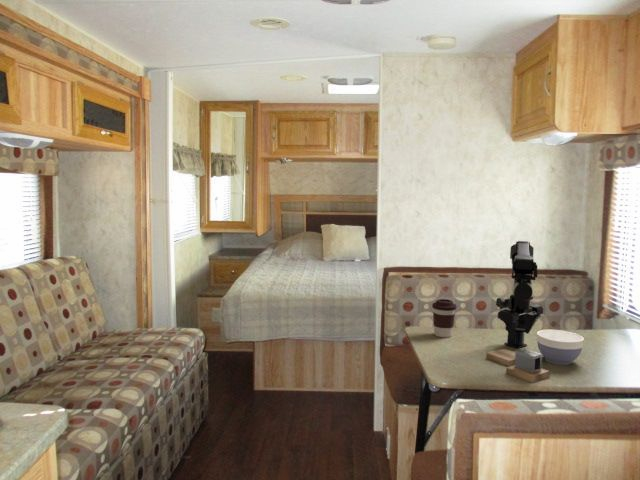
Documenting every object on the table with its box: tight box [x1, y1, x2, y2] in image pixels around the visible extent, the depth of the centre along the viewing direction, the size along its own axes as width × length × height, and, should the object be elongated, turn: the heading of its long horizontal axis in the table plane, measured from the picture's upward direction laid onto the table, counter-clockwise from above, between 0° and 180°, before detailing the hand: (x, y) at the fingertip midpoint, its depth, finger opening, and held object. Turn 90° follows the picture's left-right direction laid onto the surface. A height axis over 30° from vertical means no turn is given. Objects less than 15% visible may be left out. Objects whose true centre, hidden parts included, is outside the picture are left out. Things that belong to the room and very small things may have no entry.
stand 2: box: [505, 365, 550, 384], centre depth 190 cm, size 10×10×2 cm
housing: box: [514, 347, 543, 374], centre depth 189 cm, size 5×7×6 cm
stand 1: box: [485, 348, 516, 367], centre depth 205 cm, size 10×10×2 cm
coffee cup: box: [431, 298, 458, 338], centre depth 234 cm, size 10×10×15 cm
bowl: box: [536, 329, 585, 366], centre depth 205 cm, size 16×16×10 cm
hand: (519, 335), depth 197 cm, fingers open, 9 cm apart
